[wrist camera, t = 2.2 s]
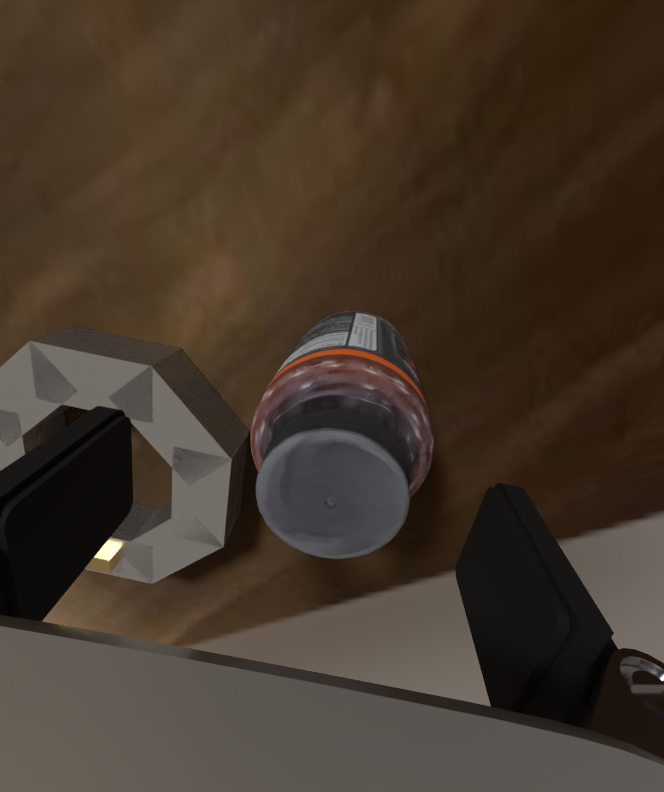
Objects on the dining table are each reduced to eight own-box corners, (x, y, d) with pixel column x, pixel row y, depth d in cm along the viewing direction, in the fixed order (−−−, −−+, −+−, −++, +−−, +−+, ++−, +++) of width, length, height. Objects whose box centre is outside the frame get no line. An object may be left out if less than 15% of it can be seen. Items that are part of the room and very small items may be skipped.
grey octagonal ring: (257, 363, 21) (234, 389, 17) (235, 560, 26) (214, 609, 23) (0, 310, 21) (-72, 325, 18) (32, 516, 27) (-18, 557, 23)
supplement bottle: (422, 405, 21) (468, 580, 10) (314, 426, 22) (259, 602, 12) (399, 292, 19) (429, 370, 8) (281, 322, 20) (179, 423, 10)
